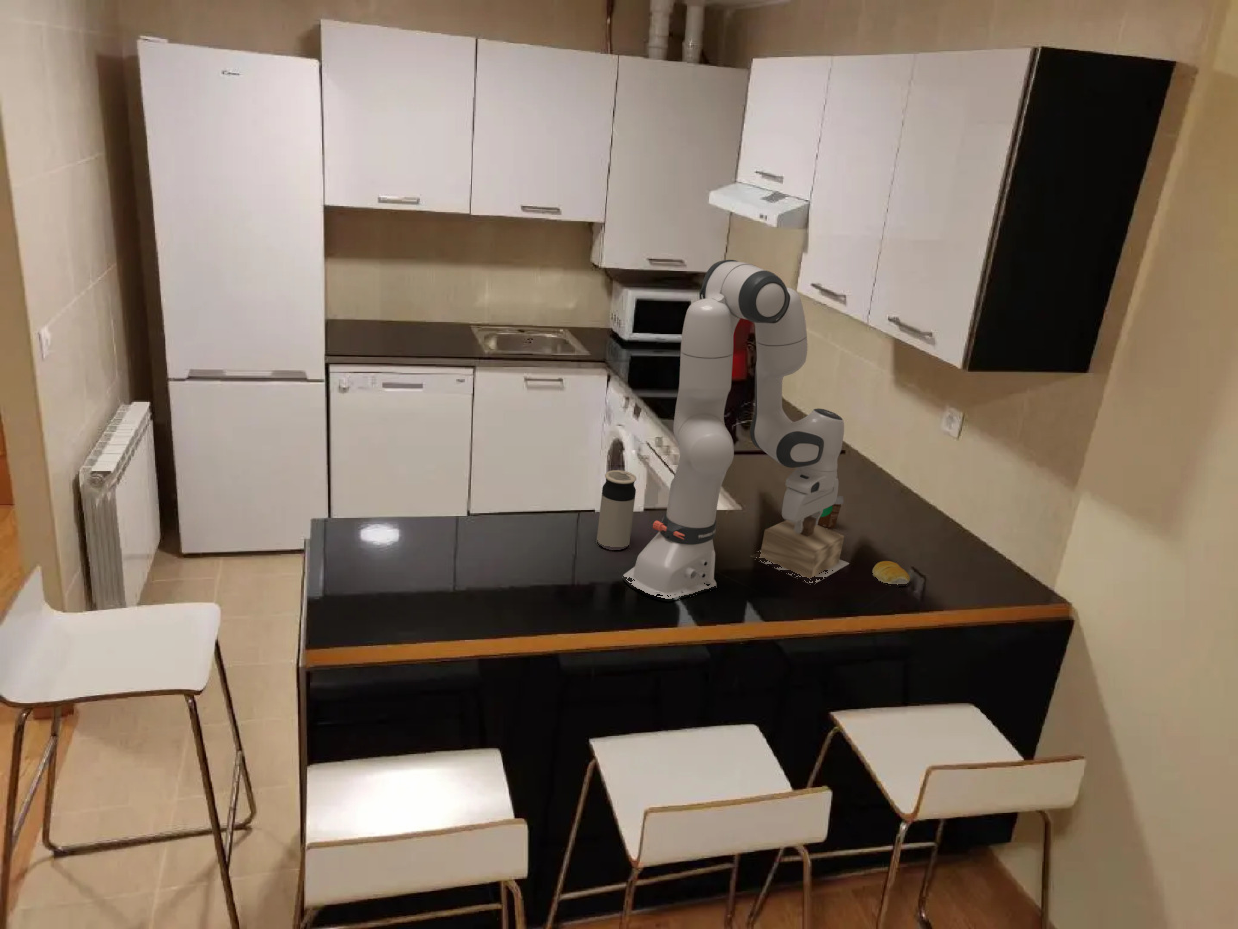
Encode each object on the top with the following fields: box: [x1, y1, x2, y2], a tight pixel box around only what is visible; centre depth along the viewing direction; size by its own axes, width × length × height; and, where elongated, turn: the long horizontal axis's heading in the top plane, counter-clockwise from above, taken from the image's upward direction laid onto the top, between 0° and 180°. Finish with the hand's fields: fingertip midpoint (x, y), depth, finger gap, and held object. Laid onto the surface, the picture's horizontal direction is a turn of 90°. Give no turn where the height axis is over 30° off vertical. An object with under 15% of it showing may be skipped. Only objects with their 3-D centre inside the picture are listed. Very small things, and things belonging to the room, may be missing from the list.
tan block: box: [760, 516, 845, 579], centre depth 224 cm, size 14×14×11 cm
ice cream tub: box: [810, 495, 844, 530], centre depth 248 cm, size 12×6×10 cm, turn 21°
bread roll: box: [871, 560, 911, 585], centre depth 222 cm, size 8×9×4 cm
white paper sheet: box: [756, 549, 850, 584], centre depth 226 cm, size 18×18×1 cm
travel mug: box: [596, 469, 637, 547], centre depth 221 cm, size 8×8×18 cm
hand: (805, 528), depth 223 cm, fingers open, 5 cm apart
